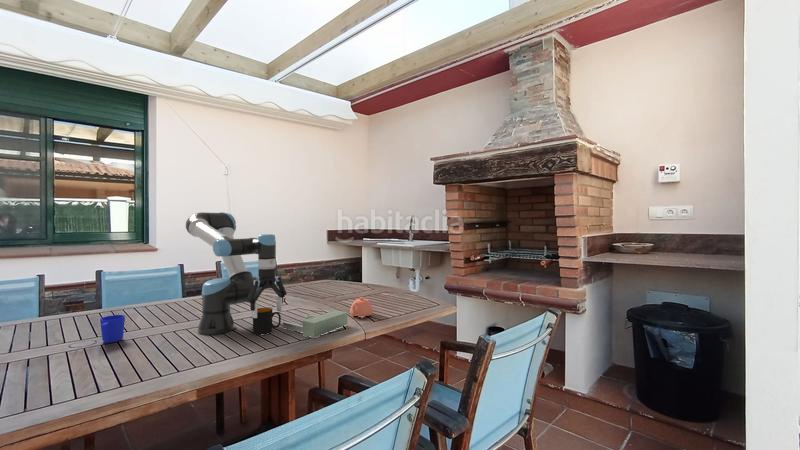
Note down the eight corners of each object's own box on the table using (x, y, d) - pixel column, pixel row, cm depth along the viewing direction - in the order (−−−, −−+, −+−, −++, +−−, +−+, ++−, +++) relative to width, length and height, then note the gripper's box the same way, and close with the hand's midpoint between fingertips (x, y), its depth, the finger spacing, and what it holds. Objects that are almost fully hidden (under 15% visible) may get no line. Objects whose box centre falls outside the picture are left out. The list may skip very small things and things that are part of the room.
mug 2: (281, 333, 166) (281, 310, 166) (252, 336, 161) (252, 313, 161) (280, 328, 174) (280, 306, 173) (252, 330, 169) (252, 308, 169)
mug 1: (90, 348, 145) (90, 323, 145) (106, 338, 157) (106, 315, 156) (115, 346, 147) (114, 322, 147) (128, 336, 159) (128, 314, 159)
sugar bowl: (377, 315, 197) (377, 296, 197) (361, 321, 186) (361, 301, 185) (359, 312, 204) (359, 294, 204) (343, 317, 192) (343, 298, 192)
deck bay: (278, 329, 171) (278, 315, 170) (313, 318, 189) (313, 305, 189) (313, 339, 158) (314, 323, 158) (347, 326, 177) (347, 312, 177)
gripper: (248, 271, 154) (248, 321, 154) (294, 265, 175) (294, 309, 176) (237, 270, 158) (237, 319, 158) (283, 264, 179) (283, 307, 180)
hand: (267, 314), depth 167 cm, fingers open, 13 cm apart
